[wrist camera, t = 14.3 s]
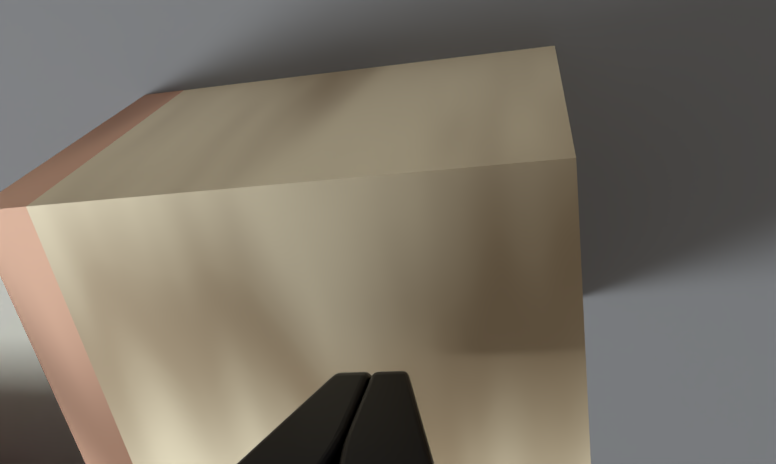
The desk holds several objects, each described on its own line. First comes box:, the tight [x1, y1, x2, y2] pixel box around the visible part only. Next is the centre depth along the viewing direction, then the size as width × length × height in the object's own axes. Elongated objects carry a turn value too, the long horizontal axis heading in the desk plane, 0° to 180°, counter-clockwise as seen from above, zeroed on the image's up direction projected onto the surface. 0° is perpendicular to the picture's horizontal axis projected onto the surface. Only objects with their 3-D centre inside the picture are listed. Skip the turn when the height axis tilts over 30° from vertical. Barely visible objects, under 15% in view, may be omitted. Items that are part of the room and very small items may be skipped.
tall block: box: [0, 46, 591, 464], centre depth 12 cm, size 5×5×8 cm
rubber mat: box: [0, 0, 776, 464], centre depth 14 cm, size 16×18×1 cm
